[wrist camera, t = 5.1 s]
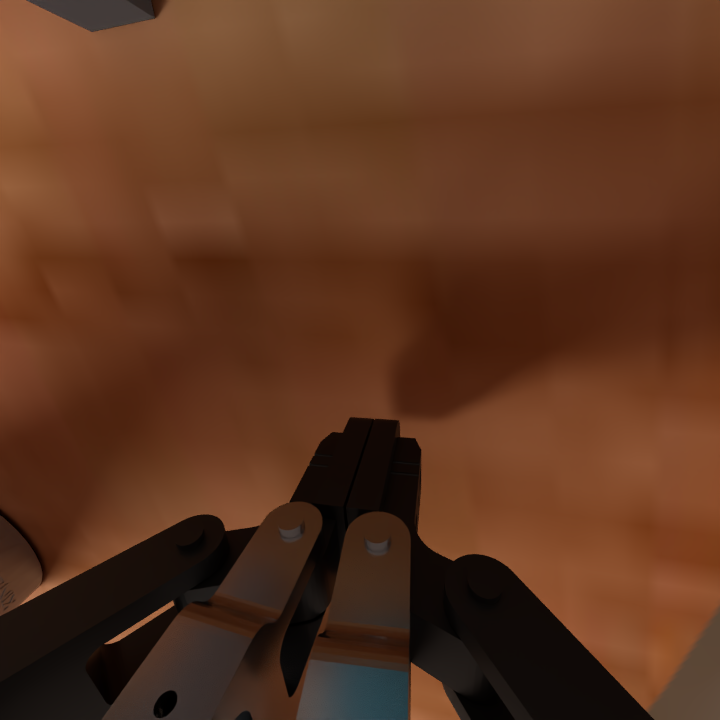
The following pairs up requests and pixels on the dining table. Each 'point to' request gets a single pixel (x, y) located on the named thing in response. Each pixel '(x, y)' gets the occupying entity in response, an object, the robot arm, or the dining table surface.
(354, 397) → the dining table surface
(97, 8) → the bridge
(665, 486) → the dining table surface
